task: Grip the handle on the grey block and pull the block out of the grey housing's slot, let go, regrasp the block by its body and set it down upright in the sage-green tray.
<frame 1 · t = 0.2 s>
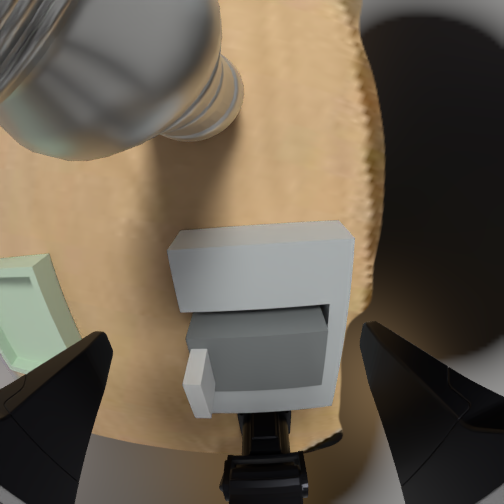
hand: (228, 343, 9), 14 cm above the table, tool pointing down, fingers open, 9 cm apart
plastic bottle: (198, 98, 19), on the table
bay housing: (257, 320, 26), on the table
tray: (28, 316, 27), on the table
grey block with handle: (257, 319, 26), resting in bay housing
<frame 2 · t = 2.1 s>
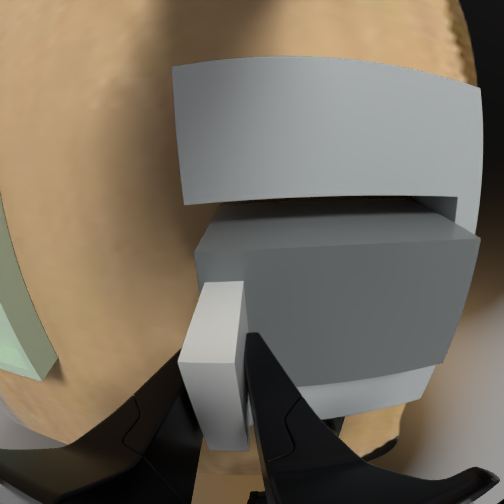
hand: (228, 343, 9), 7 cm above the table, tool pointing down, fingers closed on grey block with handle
bay housing: (316, 255, 15), on the table
grey block with handle: (322, 256, 15), resting in bay housing, touching gripper
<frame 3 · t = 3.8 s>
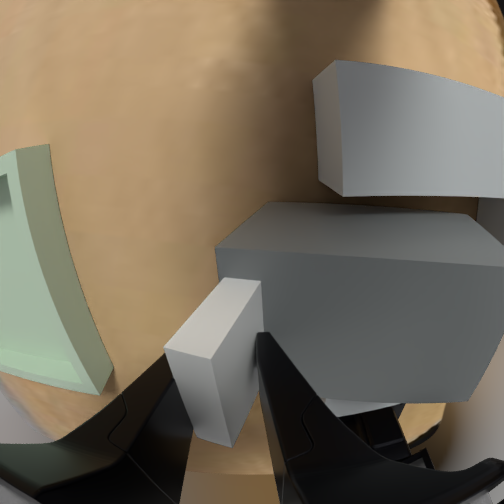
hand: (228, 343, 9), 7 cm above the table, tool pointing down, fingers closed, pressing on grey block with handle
bay housing: (408, 248, 15), on the table
tray: (4, 275, 16), on the table
grey block with handle: (367, 265, 13), point 2 cm above the table, tilted 19°, touching gripper
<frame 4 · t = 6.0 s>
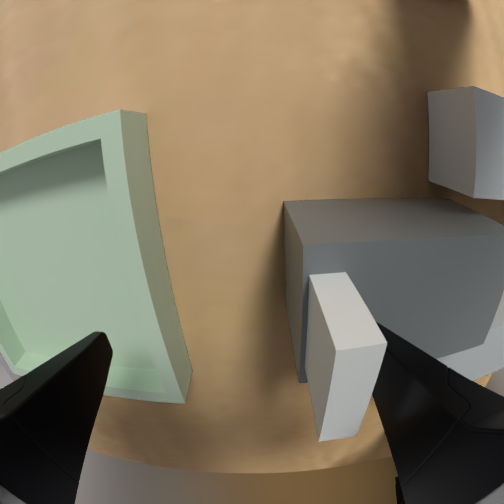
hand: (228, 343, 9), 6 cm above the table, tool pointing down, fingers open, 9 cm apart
bay housing: (481, 244, 15), on the table
tray: (56, 270, 15), on the table
grey block with handle: (373, 251, 15), on the table
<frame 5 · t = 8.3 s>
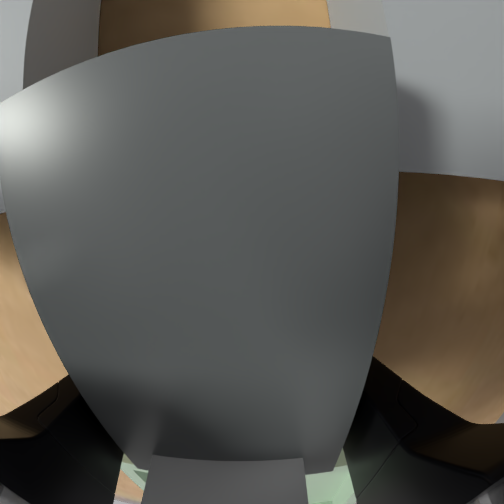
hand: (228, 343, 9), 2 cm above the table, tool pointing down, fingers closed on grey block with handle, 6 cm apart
bay housing: (206, 8, 7), on the table
tray: (256, 477, 17), on the table
grey block with handle: (225, 244, 10), on the table, touching gripper
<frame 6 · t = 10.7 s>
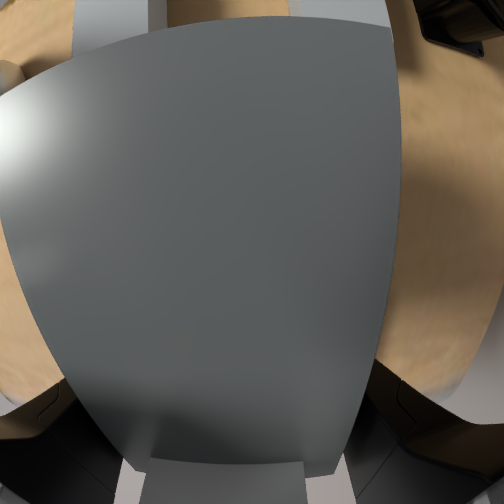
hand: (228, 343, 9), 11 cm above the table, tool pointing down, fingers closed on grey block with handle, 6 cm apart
plastic bottle: (13, 98, 15), on the table
grey block with handle: (224, 243, 10), point 9 cm above the table, touching gripper
when the fingers open (5 cm above the table, at t = 13.0 s): grey block with handle stays where it is, resting on tray.
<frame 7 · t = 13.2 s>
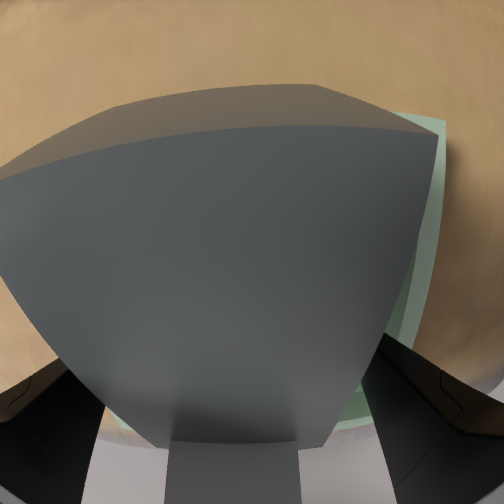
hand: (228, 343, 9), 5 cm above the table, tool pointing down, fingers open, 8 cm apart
tray: (237, 296, 14), on the table
grey block with handle: (225, 235, 10), point 2 cm above the table, tilted 14°, touching tray
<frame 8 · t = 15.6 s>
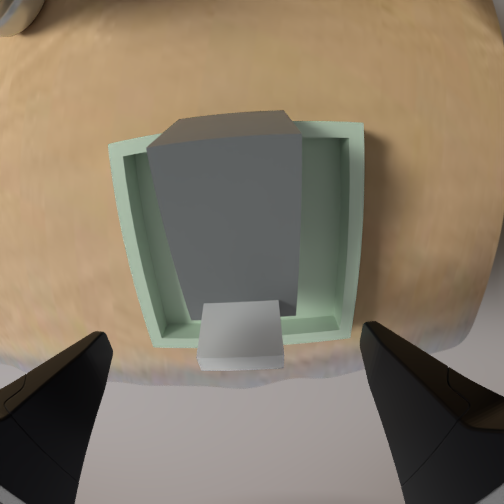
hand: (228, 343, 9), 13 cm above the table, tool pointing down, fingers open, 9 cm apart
plastic bottle: (30, 11, 13), on the table
tray: (243, 236, 21), on the table
grey block with handle: (237, 191, 18), point 2 cm above the table, tilted 14°, touching tray
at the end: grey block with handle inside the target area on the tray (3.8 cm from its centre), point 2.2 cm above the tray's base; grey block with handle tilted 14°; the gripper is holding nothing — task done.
